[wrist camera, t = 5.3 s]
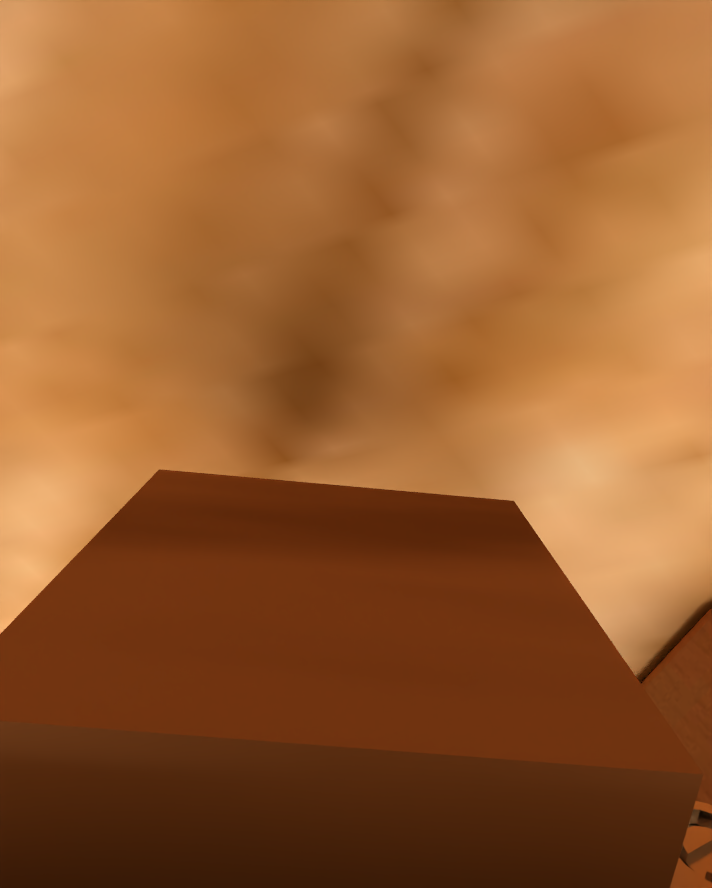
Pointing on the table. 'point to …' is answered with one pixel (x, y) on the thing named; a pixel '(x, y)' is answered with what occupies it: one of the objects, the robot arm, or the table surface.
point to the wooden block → (689, 697)
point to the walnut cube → (326, 704)
